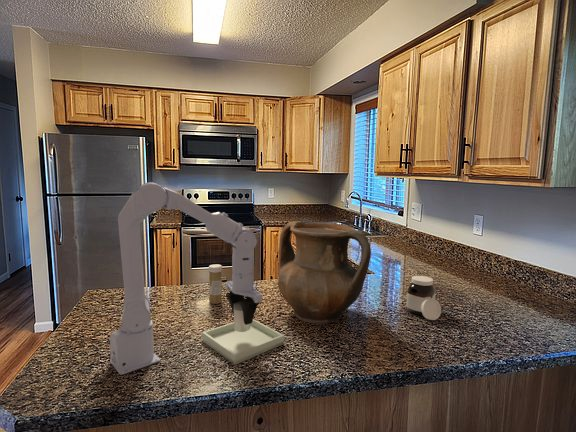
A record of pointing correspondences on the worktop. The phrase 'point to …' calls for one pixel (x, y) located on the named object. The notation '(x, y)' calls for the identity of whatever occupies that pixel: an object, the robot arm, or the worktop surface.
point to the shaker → (239, 319)
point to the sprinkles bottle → (215, 283)
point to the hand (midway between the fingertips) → (243, 320)
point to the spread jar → (423, 298)
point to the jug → (320, 270)
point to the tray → (242, 341)
